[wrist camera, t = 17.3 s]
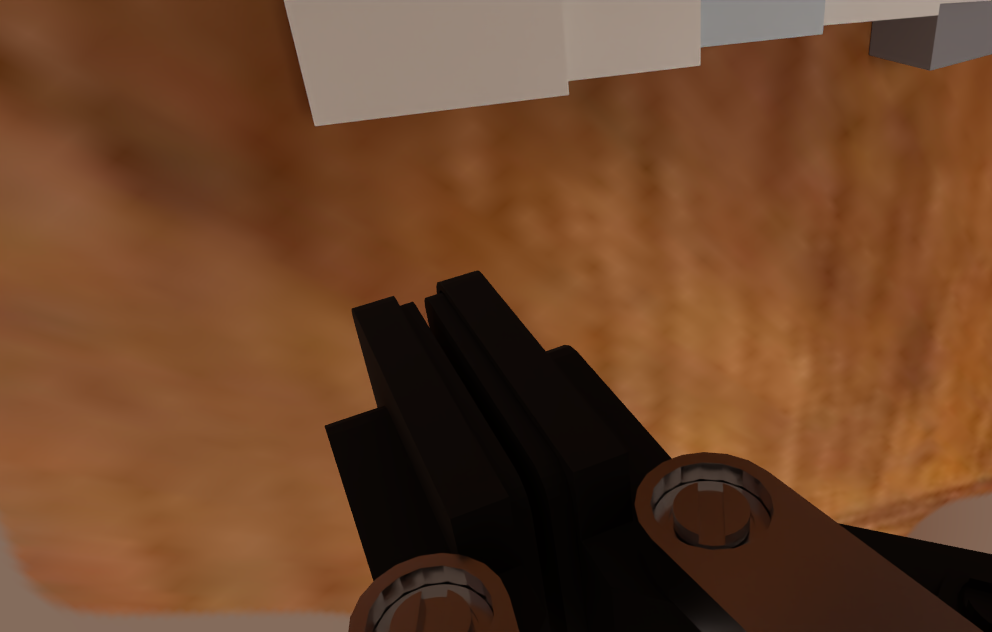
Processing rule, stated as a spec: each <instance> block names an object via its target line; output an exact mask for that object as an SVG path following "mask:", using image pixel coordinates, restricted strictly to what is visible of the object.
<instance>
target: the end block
mask: <svg viewBox="0 0 992 632" xmlns="http://www.w3.org/2000/svg"><path fill="white" fill-rule="evenodd" d="M990 54H992V1H976V2H959V3H943V4H940V7H939V14H938V15H935V16H924V17H912V18H901V19H890V20H878V21H873V23H872V32H871V42H870V51H869V55H871V56H875V57H879V58H882V59H886V60H890V61H894V62H898V63H902V64H906V65H910V66H914V67H918V68H922V69H926V70H934V69H938V68H942V67H945V66H949V65H953V64H957V63H960V62H964V61H968V60H972V59H975V58H979V57H983V56H986V55H990Z"/></svg>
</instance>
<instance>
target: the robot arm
mask: <svg viewBox="0 0 992 632" xmlns="http://www.w3.org/2000/svg"><path fill="white" fill-rule="evenodd" d="M425 308H426V313H427V318H428V322H429V326H428V325H427V323H426V321H425V320H424V318H423V316H422V315H421V313H420V312H419V310H418V308H417V307H416V305H415V304H414V302H410V303H407V304H404V305H401V306H400V305H399V304H398V302H397V300H396V299H395V297H394V296H392V297H388V298H385V299H382V300H378V301H375V302H372V303H369V304H365V305H362V306H359V307H355V308H352V315H353V319H354V323H355V327H356V330H357V334H358V338H359V341H360V345H361V349H362V352H363V356H364V360H365V363H366V367H367V371H368V374H369V378H370V382H371V385H372V389H373V393H374V396H375V400H376V404H377V407H378V408H376V409H373V410H370V411H367V412H364V413H361V414H358V415H355V416H352V417H349V418H346V419H343V420H340V421H337V422H334V423H331V424H328V425H325V429H326V432H327V435H328V438H329V441H330V445H331V448H332V451H333V454H334V457H335V460H336V464H337V467H338V470H339V473H340V476H341V479H342V483H343V486H344V489H345V492H346V495H347V498H348V502H349V505H350V508H351V511H352V514H353V517H354V521H355V524H356V527H357V530H358V533H359V536H360V540H361V543H362V546H363V549H364V552H365V555H366V559H367V562H368V565H369V568H370V571H371V574H372V578H373V581H374V582H373V583H372V584H371V585H370V586H369V587H368V588H367V590H366V591H365V592H364V593H363V594H362V595H361V596H360V598H359V600H358V602H357V604H356V606H355V609H354V611H353V613H352V615H351V617H350V624H349V632H992V554H987V553H983V552H977V551H973V550H967V549H963V548H958V547H953V546H948V545H943V544H937V543H933V542H928V541H923V540H918V539H913V538H908V537H903V536H898V535H893V534H888V533H883V532H878V531H873V530H868V529H863V528H858V527H854V526H849V525H844V524H839V523H837V522H835V521H834V520H833V519H831V518H830V517H829V516H827V515H826V514H825V513H823V512H822V511H821V510H819V509H818V508H817V507H815V506H814V505H812V504H811V503H810V502H808V501H807V500H806V499H804V498H803V497H802V496H800V495H799V494H798V493H796V492H795V491H794V490H792V489H791V488H790V487H788V486H787V485H786V484H784V483H783V482H782V481H780V480H779V479H777V478H776V477H775V476H773V475H772V474H771V473H769V472H768V471H766V470H765V469H763V468H761V467H759V466H758V465H756V464H754V463H752V462H750V461H749V460H745V459H742V458H739V457H735V456H732V455H728V454H720V453H708V452H702V453H694V454H686V455H681V456H678V457H675V458H673V459H672V458H671V457H670V456H669V455H668V454H667V453H666V452H665V451H664V449H663V448H662V447H661V446H660V445H659V444H658V443H657V441H656V440H655V439H654V438H653V437H652V436H651V435H650V434H649V432H648V431H647V430H646V429H645V428H644V427H643V426H642V425H641V423H640V422H639V421H638V420H637V419H636V418H635V417H634V415H633V414H632V413H631V412H630V411H629V410H628V409H627V408H626V406H625V405H624V404H623V403H622V402H621V401H620V400H619V398H618V397H617V396H616V395H615V394H614V393H613V392H612V391H611V389H610V388H609V387H608V386H607V385H606V384H605V383H604V381H603V380H602V379H601V378H600V377H599V376H598V375H597V374H596V372H595V371H594V370H593V369H592V368H591V367H590V366H589V365H588V363H587V362H586V361H585V360H584V359H583V358H582V357H581V355H580V354H579V353H578V352H577V351H576V350H575V349H574V348H572V347H571V346H569V345H563V346H560V347H557V348H554V349H551V350H548V351H545V350H544V349H543V348H542V346H541V345H540V344H539V343H538V341H537V340H536V339H535V338H534V337H533V335H532V334H531V333H530V332H529V330H528V329H527V328H526V327H525V326H524V324H523V323H522V322H521V321H520V320H519V318H518V317H517V316H516V315H515V313H514V312H513V311H512V310H511V309H510V307H509V306H508V305H507V304H506V302H505V301H504V300H503V299H502V298H501V296H500V295H499V294H498V293H497V291H496V290H495V289H494V288H493V287H492V285H491V284H490V283H489V282H488V280H487V279H486V278H485V277H484V276H483V274H482V273H481V272H480V271H474V272H471V273H467V274H464V275H461V276H457V277H454V278H451V279H448V280H444V281H441V282H438V283H437V294H436V295H433V296H430V297H427V298H425ZM429 327H430V328H429Z"/></svg>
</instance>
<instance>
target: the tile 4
mask: <svg viewBox="0 0 992 632" xmlns="http://www.w3.org/2000/svg"><path fill="white" fill-rule="evenodd" d="M940 1H941V0H825V12H824V24H823V25H833V24H844V23H856V22H867V21H878V20H890V19H901V18H912V17H924V16H935V15H938V14H939V7H940Z"/></svg>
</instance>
